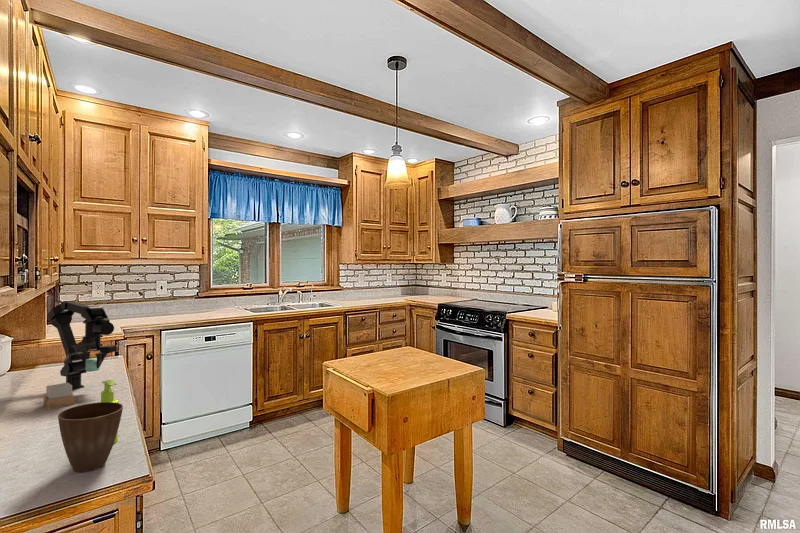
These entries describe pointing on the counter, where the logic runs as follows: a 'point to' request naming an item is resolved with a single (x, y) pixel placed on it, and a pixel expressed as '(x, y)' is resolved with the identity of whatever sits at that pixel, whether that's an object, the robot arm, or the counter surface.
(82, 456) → the plant pot
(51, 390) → the light grey block
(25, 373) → the counter surface
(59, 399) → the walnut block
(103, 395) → the soap dispenser
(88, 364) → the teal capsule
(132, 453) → the counter surface
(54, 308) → the robot arm
